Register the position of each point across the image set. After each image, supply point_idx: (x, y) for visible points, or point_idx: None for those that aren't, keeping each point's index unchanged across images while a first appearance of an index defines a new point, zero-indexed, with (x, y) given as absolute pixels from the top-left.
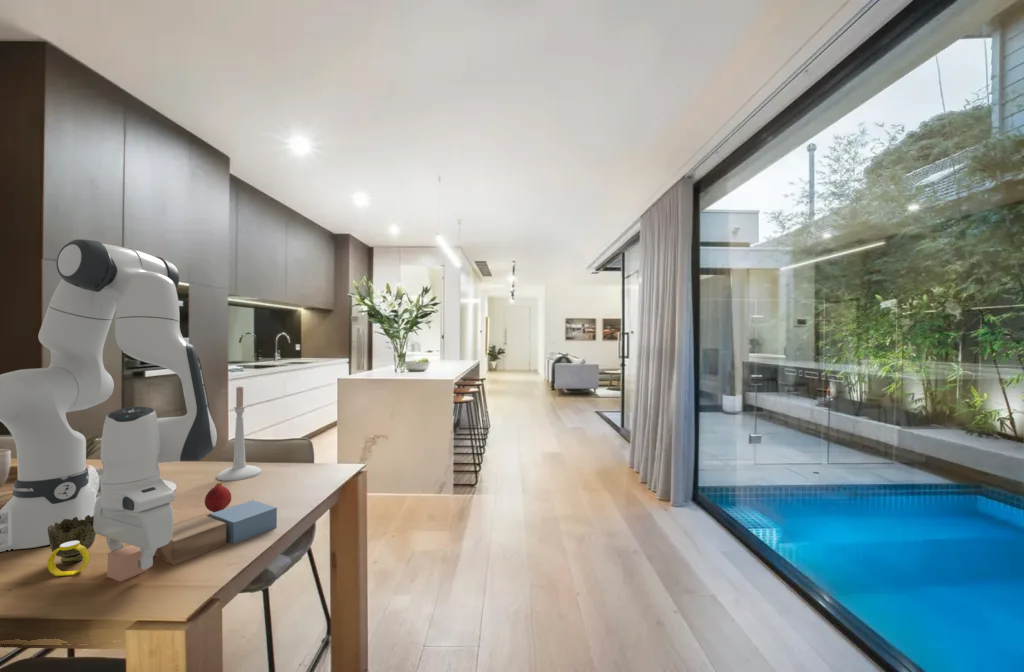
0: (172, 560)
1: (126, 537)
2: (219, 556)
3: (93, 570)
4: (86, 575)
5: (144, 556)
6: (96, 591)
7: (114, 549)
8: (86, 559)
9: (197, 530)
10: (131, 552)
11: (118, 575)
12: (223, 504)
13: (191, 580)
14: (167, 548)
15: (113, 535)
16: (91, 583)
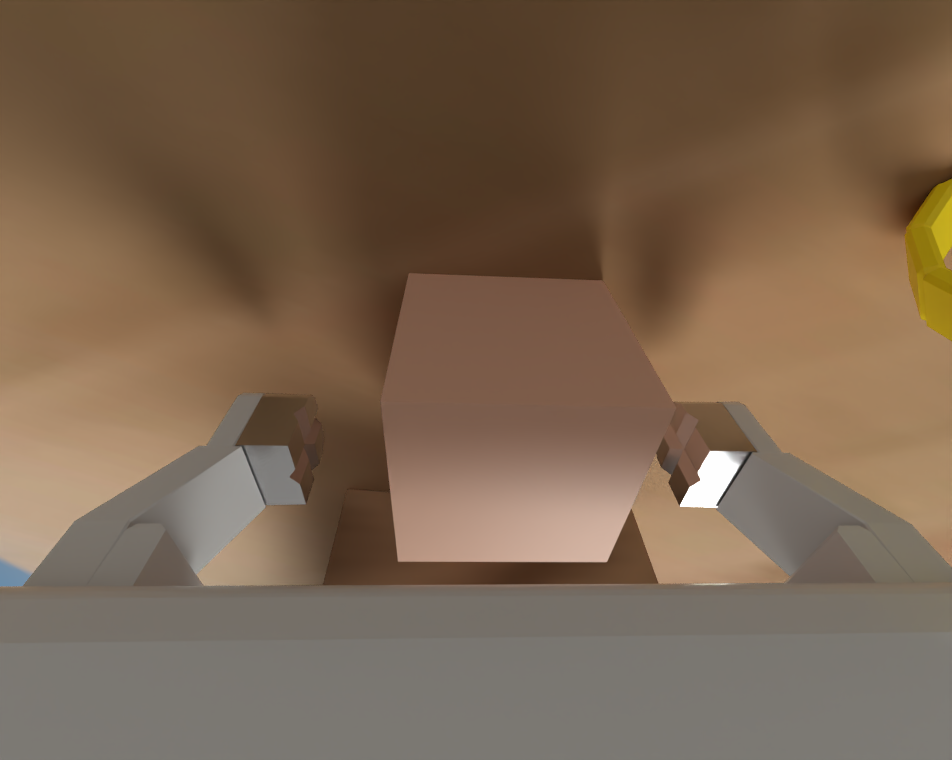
0: (363, 508)
1: (325, 708)
2: (245, 577)
3: (818, 292)
4: (807, 226)
5: (140, 490)
6: (405, 86)
7: (747, 469)
8: (946, 304)
9: None
10: (431, 489)
11: (439, 295)
12: None
13: (13, 437)
14: (422, 569)
15: (746, 658)
16: (620, 161)
